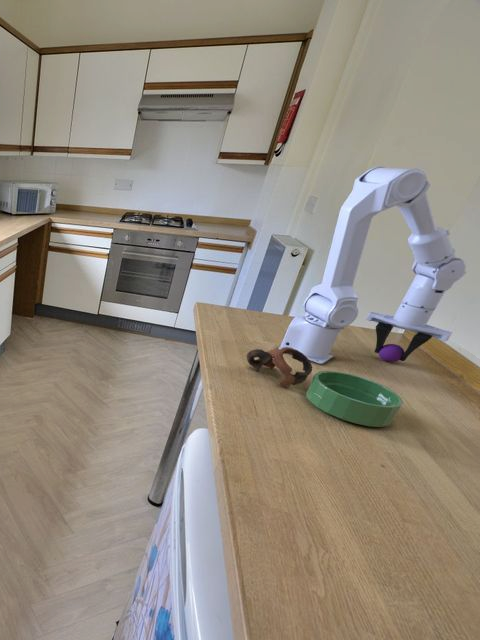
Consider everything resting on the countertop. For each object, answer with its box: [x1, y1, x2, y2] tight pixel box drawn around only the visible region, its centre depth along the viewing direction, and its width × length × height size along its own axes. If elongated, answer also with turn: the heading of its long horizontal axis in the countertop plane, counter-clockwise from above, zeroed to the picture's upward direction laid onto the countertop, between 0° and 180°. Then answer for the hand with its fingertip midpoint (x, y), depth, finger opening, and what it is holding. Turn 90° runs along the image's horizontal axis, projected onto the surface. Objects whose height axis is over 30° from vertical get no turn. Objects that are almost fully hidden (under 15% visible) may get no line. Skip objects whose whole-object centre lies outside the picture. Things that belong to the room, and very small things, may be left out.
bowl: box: [305, 370, 404, 428], centre depth 81 cm, size 13×13×5 cm
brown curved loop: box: [246, 347, 313, 388], centre depth 91 cm, size 12×10×8 cm
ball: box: [378, 343, 405, 363], centre depth 102 cm, size 4×4×4 cm
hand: (389, 355), depth 103 cm, fingers closed on ball, 4 cm apart
